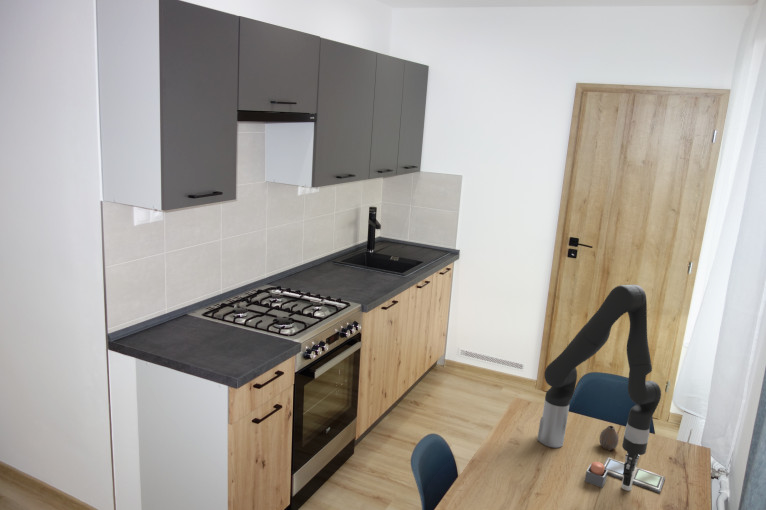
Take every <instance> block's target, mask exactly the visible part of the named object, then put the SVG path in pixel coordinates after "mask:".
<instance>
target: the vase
mask: <svg viewBox="0 0 766 510" xmlns="http://www.w3.org/2000/svg"><path fill="white" fill-rule="evenodd" d="M619 440H620V439H619V434H618V433H617V431H616V429H615V426H613V425H607V427H606V428H604V429H602V431H601V432H600V434H599V444H600V446H601V447H602V448H603V449H604V450H607V451H612V450H614V449H616V448H617V447H618V445H619Z"/></svg>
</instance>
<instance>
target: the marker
mask: <svg viewBox="0 0 766 510" xmlns="http://www.w3.org/2000/svg"><path fill="white" fill-rule="evenodd" d="M636 465H638V463H636ZM633 467H634V466H633ZM634 472H635V470H634V471H633V473H632V477H631V482H630V486H626V485H624V484H623V480H624V475H623V480H622V481H621V486H620V487H621V488H622V489H623V490H625V491H627V492H628V491H631V490H632V489H633V488H632V487H633V477H634Z"/></svg>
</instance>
